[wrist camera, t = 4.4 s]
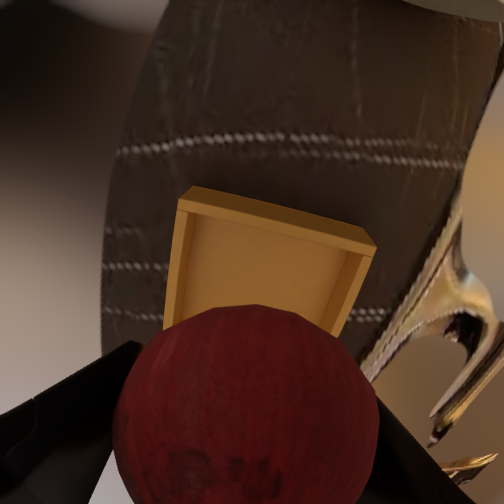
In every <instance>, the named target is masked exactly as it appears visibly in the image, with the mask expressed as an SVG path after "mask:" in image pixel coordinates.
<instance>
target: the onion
mask: <svg viewBox="0 0 504 504" xmlns="http://www.w3.org/2000/svg"><path fill="white" fill-rule="evenodd" d="M379 421H380V418H379V411H378V405H377V399H376V394H375V390H374V389H373V387H372V386H371V384H370V383H369V381H368V380H367V378H366V377H365V375H364V374H363V372H362V371H361V369H360V368H359V366H358V365H357V363H356V362H355V360H354V359H353V357H352V356H351V354H350V353H349V351H348V350H347V349H346V347H345V346H344V344H343V343H342V341H341V340H340V339H338V338H336V337H335V336H333V335H331V334H330V333H328V332H326V331H325V330H323V329H321V328H320V327H318V326H317V325H315V324H313V323H312V322H310V321H308V320H307V319H305V318H303V317H302V316H300V315H299V314H297V313H295V312H290V311H286V310H281V309H277V308H272V307H268V306H263V305H259V304H250V305H238V306H226V307H214V308H211V309H209V310H206V311H204V312H202V313H199V314H197V315H195V316H193V317H190V318H188V319H186V320H184V321H182V322H180V323H178V324H176V325H173V326H171V327H169V328H167V329H165V330H163V331H160V332H158V333H156V334H155V336H154V337H153V338H152V340H151V341H150V342H149V343H148V345H147V346H146V347H145V348H144V350H143V351H142V352H141V354H140V355H139V356H138V358H137V359H136V361H135V363H134V365H133V367H132V369H131V370H130V372H129V374H128V376H127V378H126V380H125V382H124V383H123V385H122V388H121V391H120V394H119V397H118V400H117V403H116V406H115V410H114V413H113V422H112V446H113V450H114V455H115V459H116V463H117V467H118V471H119V474H120V476H121V478H122V480H123V482H124V485H125V487H126V489H127V491H128V493H129V495H130V497H131V499H132V500H133V502H134V504H355V503H356V501H357V500H358V499H359V497H360V496H361V494H362V492H363V490H364V488H365V486H366V484H367V482H368V480H369V478H370V476H371V473H372V468H373V463H374V458H375V453H376V447H377V439H378V430H379Z"/></svg>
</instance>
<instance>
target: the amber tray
mask: <svg viewBox="0 0 504 504" xmlns="http://www.w3.org/2000/svg"><path fill="white" fill-rule="evenodd" d="M376 249H377V247H376V245H375V244H374V242H373V241H372V240H371V238H370V237H369V235H368V234H367V233H366V231H365V230H364V228H362V227H359V226H355V225H352V224H348V223H345V222H341V221H337V220H334V219H330V218H326V217H323V216H319V215H315V214H311V213H308V212H304V211H300V210H296V209H292V208H288V207H284V206H280V205H276V204H272V203H268V202H264V201H260V200H256V199H252V198H248V197H243V196H239V195H235V194H230V193H226V192H222V191H217V190H213V189H208V188H204V187H199V186H195V185H194V186H192V187H191V188H190V189H189V190H188V191H187V192H185V193H184V194H183V195H182V196H181V197H180V198H179V200H178V206H177V212H176V219H175V226H174V233H173V240H172V248H171V256H170V264H169V272H168V281H167V291H166V300H165V311H164V322H163V330H165V329H167V328H169V327H171V326H173V325H176V324H178V323H180V322H182V321H184V320H186V319H188V318H190V317H193V316H195V315H197V314H199V313H202V312H204V311H206V310H209V309H211V308H214V307H226V306H238V305H250V304H259V305H263V306H268V307H272V308H277V309H281V310H286V311H290V312H295V313H297V314H299V315H300V316H302V317H303V318H305V319H307V320H308V321H310V322H312V323H313V324H315V325H317V326H318V327H320V328H321V329H323V330H325V331H326V332H328V333H330V334H331V335H333V336H335V337H336V338H338V336H339V334H340V332H341V330H342V328H343V326H344V324H345V322H346V319H347V317H348V315H349V313H350V311H351V309H352V306H353V304H354V302H355V300H356V297H357V295H358V293H359V290H360V288H361V286H362V283H363V281H364V279H365V276H366V274H367V271H368V269H369V267H370V264H371V262H372V259H373V256H374V254H375V252H376Z"/></svg>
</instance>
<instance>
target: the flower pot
mask: <svg viewBox="0 0 504 504" xmlns="http://www.w3.org/2000/svg"><path fill="white" fill-rule="evenodd" d="M403 1H405V2H408V3H411V4H414V5H416V6H420V7H423V8H427V9H431V10H434V11H438V12H442V13H447V14H451V15H456V16H461V17H466V18H472V19H477V20H484V21H491V22H499V23H504V0H403Z"/></svg>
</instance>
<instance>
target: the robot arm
mask: <svg viewBox="0 0 504 504" xmlns="http://www.w3.org/2000/svg"><path fill="white" fill-rule="evenodd" d="M144 348H145V347H144V345H143V344H142V343H139V342H135V341H132V340H130V341H127V342H126V343H124V344H122V345H121V346H119V347H117V348H116V349H114V350H112V351H111V352H109V353H107V354H106V355H104V356H102V357H101V358H99V359H98V360H96V361H94V362H92V363H91V364H89V365H87V366H86V367H84V368H82V369H80V370H79V371H77V372H76V373H74V374H72V375H70V376H69V377H67V378H65V379H64V380H62V381H60V382H58V383H57V384H55V385H53V386H52V387H50V388H48V389H47V390H45V391H43V392H41V393H40V394H38V395H36V396H35V397H34V400H33V399H32V398H31V399H29V400H28V401H26V402H24V403H22V404H21V405H19V406H17V407H15V408H13V409H11V410H9V411H8V412H6V413H4V414H1V415H0V504H88V503H89V501H90V498H91V496H92V494H93V492H94V489H95V487H96V485H97V483H98V481H99V478H100V476H101V474H102V472H103V469H104V467H105V465H106V463H107V461H108V459H109V456H110V455H111V452H112V450H113V446H112V422H113V413H114V410H115V406H116V403H117V400H118V397H119V394H120V391H121V388H122V385H123V383H124V382H125V380H126V378H127V376H128V374H129V372H130V370H131V369H132V367H133V365H134V363H135V361H136V359H137V358H138V356H139V355H140V354H141V352H142V351H143V350H144ZM376 399H377V405H378V411H379V418H380V421H379V430H378V439H377V447H376V453H375V458H374V463H373V468H372V473H371V476H370V478H369V480H368V482H367V484H366V486H365V488H364V490H363V492H362V494H361V496H360V497H359V499H358V500H357V501H356V503H355V504H476V503H475V502H474V501H472V500H471V499H470V498H469V497H468V496H467V495H466V494H465V493H464V492H463V491H462V490H461V489H460V488H459V487H458V486H457V485H456V484H455V483H454V482H453V481H452V480H451V479H450V477H449V476H448V475H447V474H446V473H445V472H444V471H442V469H441V467H440V466H439V465H438V464H437V463H436V462H435V461H434V460H433V459H432V457H431V456H430V455H429V454H428V453H427V452H426V451H425V449H424V448H423V447H422V446H421V445H420V444H419V443H418V442H417V440H416V439H415V438H414V437H413V436H412V435H411V434H410V433H409V431H408V430H407V429H406V428H405V427H404V426H403V425H402V424H401V422H400V421H399V420H398V419H397V418H396V417H395V416H394V415H393V413H392V412H391V411H390V410H389V409H388V408H387V407H386V406H385V405H384V403H383V402H382V401H381V400H380V399H379V398H378V397H377V396H376Z"/></svg>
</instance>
